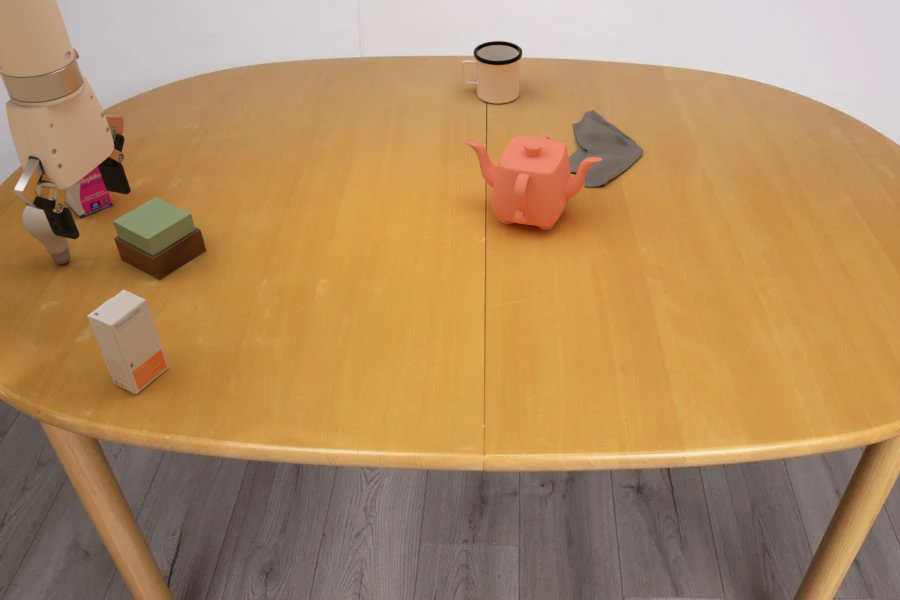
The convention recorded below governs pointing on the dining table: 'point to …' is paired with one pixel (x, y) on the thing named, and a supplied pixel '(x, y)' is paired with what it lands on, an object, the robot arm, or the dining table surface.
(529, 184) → the teapot
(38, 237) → the lightbulb
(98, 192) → the supplement box
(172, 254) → the walnut block
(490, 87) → the mug
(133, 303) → the cosmetic box
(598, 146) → the cloth
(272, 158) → the dining table surface
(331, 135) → the dining table surface
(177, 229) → the green block
